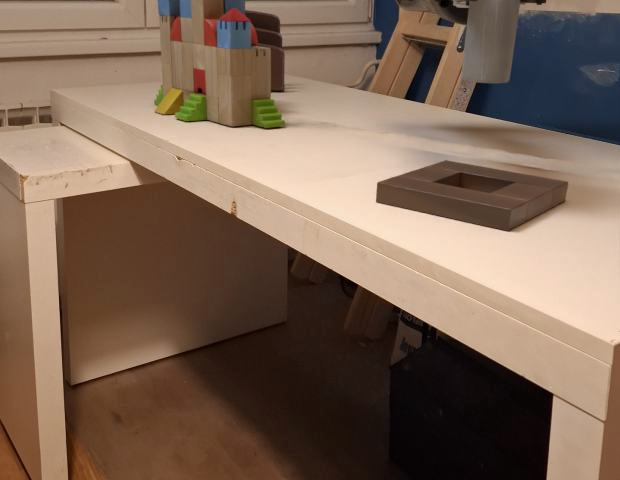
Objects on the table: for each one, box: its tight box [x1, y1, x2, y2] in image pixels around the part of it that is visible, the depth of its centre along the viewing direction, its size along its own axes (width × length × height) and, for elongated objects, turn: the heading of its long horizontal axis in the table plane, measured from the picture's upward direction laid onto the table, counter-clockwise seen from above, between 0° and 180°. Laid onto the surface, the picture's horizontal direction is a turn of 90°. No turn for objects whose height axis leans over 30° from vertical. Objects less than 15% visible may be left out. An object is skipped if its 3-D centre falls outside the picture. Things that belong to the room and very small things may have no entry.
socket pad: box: [375, 159, 569, 232], centre depth 76 cm, size 14×14×2 cm
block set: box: [153, 0, 286, 129], centre depth 115 cm, size 28×14×19 cm, turn 37°
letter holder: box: [245, 9, 286, 93], centre depth 145 cm, size 10×20×14 cm, turn 98°
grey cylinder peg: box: [461, 0, 521, 84], centre depth 70 cm, size 4×4×10 cm
